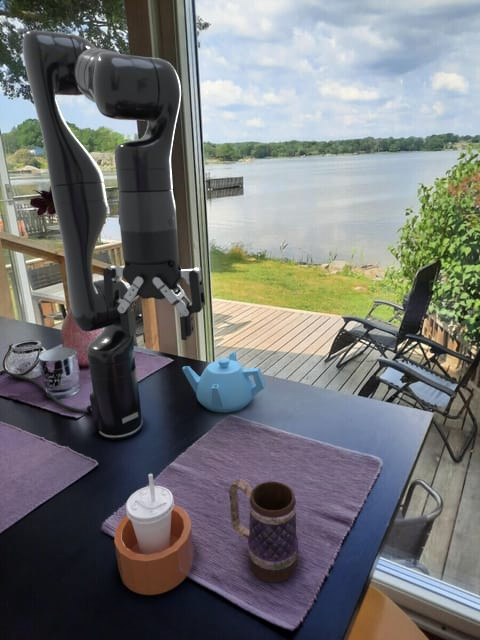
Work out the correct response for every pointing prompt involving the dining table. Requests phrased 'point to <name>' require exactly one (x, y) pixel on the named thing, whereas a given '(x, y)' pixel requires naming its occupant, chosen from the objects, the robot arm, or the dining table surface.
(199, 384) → the teapot
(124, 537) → the bottle stand
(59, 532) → the dining table surface
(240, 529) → the mug
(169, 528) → the smoothie
